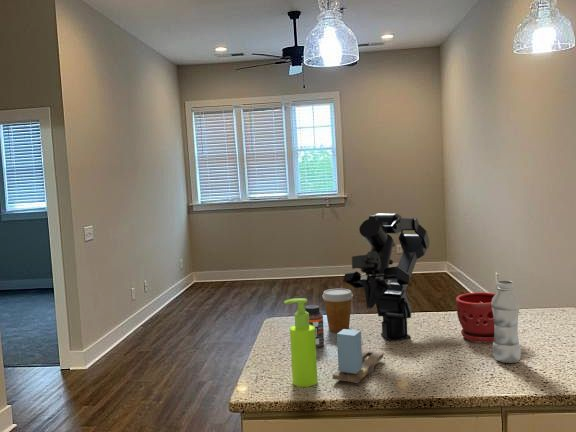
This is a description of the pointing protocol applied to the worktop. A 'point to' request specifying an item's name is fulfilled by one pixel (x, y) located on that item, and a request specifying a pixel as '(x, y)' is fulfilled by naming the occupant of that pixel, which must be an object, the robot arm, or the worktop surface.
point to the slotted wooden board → (366, 367)
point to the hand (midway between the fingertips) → (369, 307)
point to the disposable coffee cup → (338, 308)
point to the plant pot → (476, 316)
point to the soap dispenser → (303, 347)
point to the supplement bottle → (316, 323)
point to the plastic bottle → (505, 324)
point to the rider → (349, 351)
